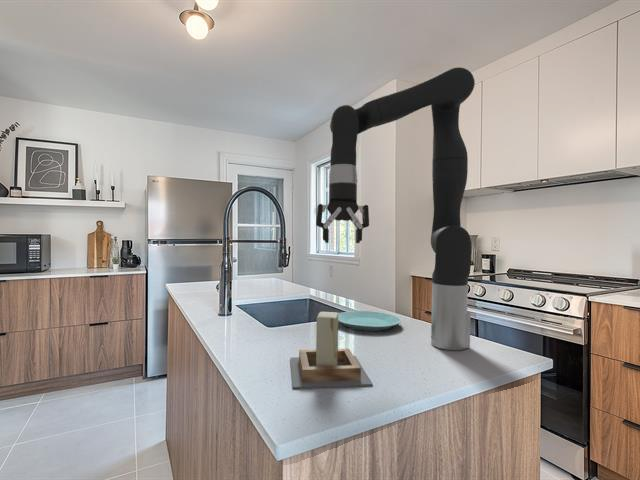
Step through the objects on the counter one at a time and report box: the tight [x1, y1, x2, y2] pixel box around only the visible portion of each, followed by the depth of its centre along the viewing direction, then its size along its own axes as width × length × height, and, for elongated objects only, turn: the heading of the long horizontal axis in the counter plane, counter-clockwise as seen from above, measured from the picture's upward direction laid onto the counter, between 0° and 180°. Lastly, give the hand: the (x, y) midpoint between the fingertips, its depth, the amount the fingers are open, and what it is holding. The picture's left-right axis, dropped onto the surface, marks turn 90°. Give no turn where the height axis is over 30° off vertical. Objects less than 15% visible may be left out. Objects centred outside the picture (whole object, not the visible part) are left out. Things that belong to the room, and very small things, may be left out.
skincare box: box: [315, 311, 339, 367], centre depth 74 cm, size 6×4×12 cm
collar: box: [298, 348, 361, 382], centre depth 75 cm, size 12×12×2 cm
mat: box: [289, 355, 374, 390], centre depth 75 cm, size 16×16×1 cm
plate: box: [338, 310, 402, 332], centre depth 114 cm, size 22×22×3 cm
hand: (342, 242), depth 92 cm, fingers open, 8 cm apart
